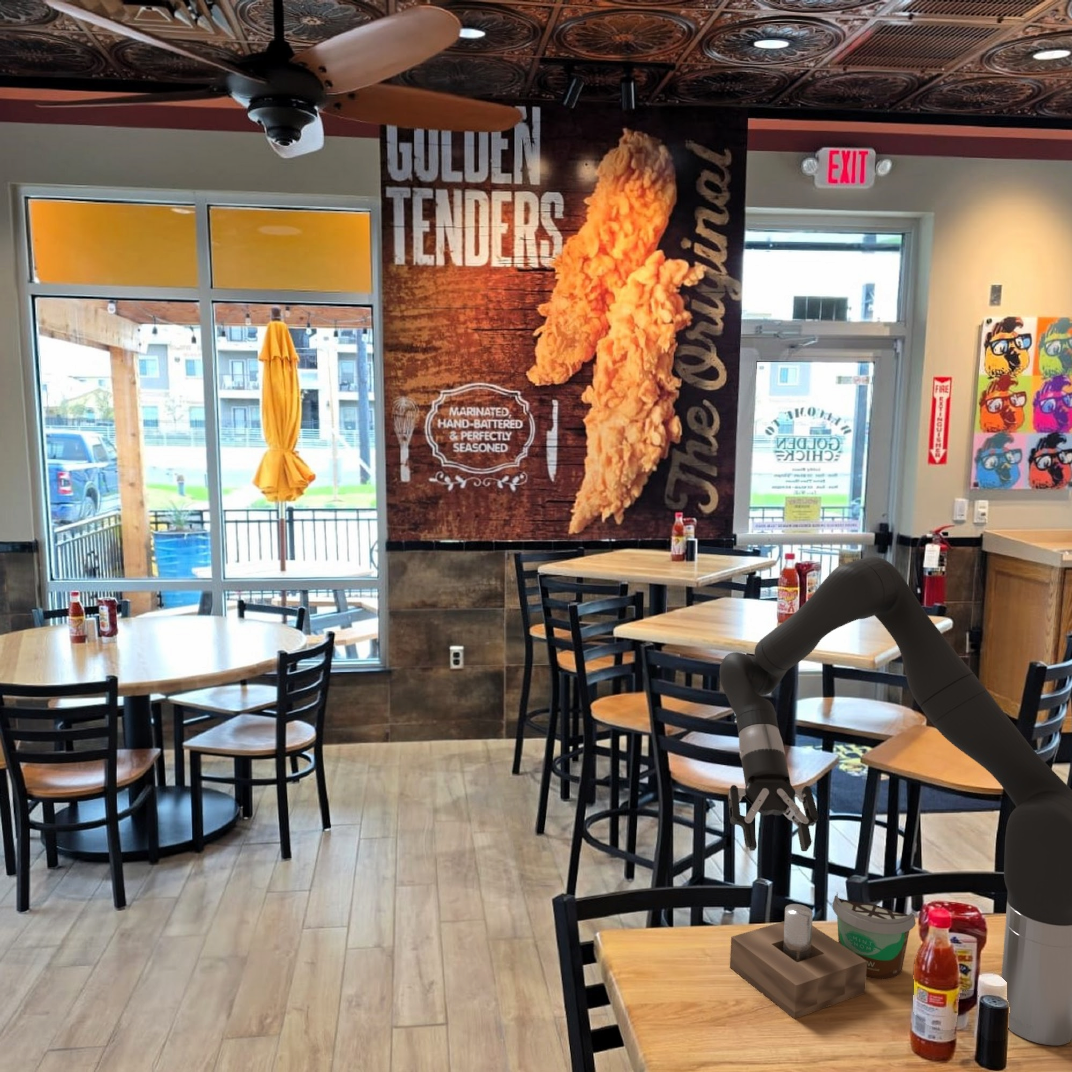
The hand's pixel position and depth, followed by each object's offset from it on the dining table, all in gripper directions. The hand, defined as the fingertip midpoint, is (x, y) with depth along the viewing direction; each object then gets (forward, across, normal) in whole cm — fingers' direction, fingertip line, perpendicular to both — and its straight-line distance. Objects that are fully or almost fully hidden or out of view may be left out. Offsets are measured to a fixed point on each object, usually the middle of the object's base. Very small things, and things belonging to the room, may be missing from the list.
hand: (779, 849), depth 145 cm
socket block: (+19, 0, +4) cm, 19 cm away
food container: (+17, +12, +6) cm, 22 cm away
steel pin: (+18, 0, +3) cm, 18 cm away
